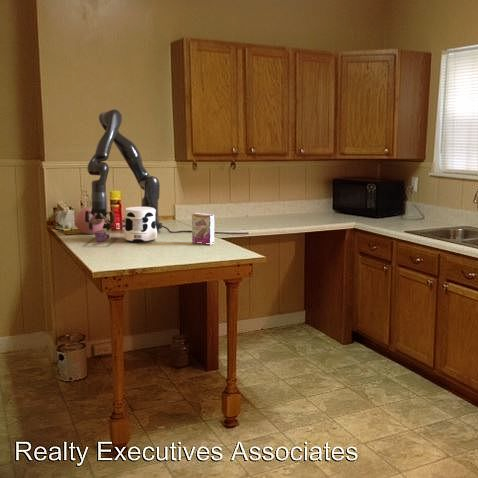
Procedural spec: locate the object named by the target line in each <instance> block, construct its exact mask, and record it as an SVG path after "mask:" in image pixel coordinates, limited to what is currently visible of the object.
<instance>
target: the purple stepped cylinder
mask: <svg viewBox="0 0 478 478" xmlns="http://www.w3.org/2000/svg"><path fill="white" fill-rule="evenodd" d="M106 233H107V230H100V231H96V232H95V234H94V237H96V236H97V237H104V236H106Z"/></svg>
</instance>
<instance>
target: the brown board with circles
mask: <svg viewBox="0 0 478 478" xmlns="http://www.w3.org/2000/svg"><path fill="white" fill-rule="evenodd" d="M111 239H112V237H110V238H108V239H106V241H104V242H97V241H95V240H94V241H93V242H92V243H90V246H93V247H95V246H103V245H104V243H108V241H109V240H111Z"/></svg>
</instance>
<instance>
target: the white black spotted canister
mask: <svg viewBox="0 0 478 478" xmlns="http://www.w3.org/2000/svg"><path fill="white" fill-rule="evenodd" d="M124 220H125V221H124V222H125V223H124V228H123V238H124V239H125V241H127V242H129V243H135V244H138V243H139V244H141V243H142V244H145V243H150V242H154V241H155V240H156V239H157V236H158V233H157V229H156V225H155V209H154V208H152V207H142V206H130V207H125V210H124Z"/></svg>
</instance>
